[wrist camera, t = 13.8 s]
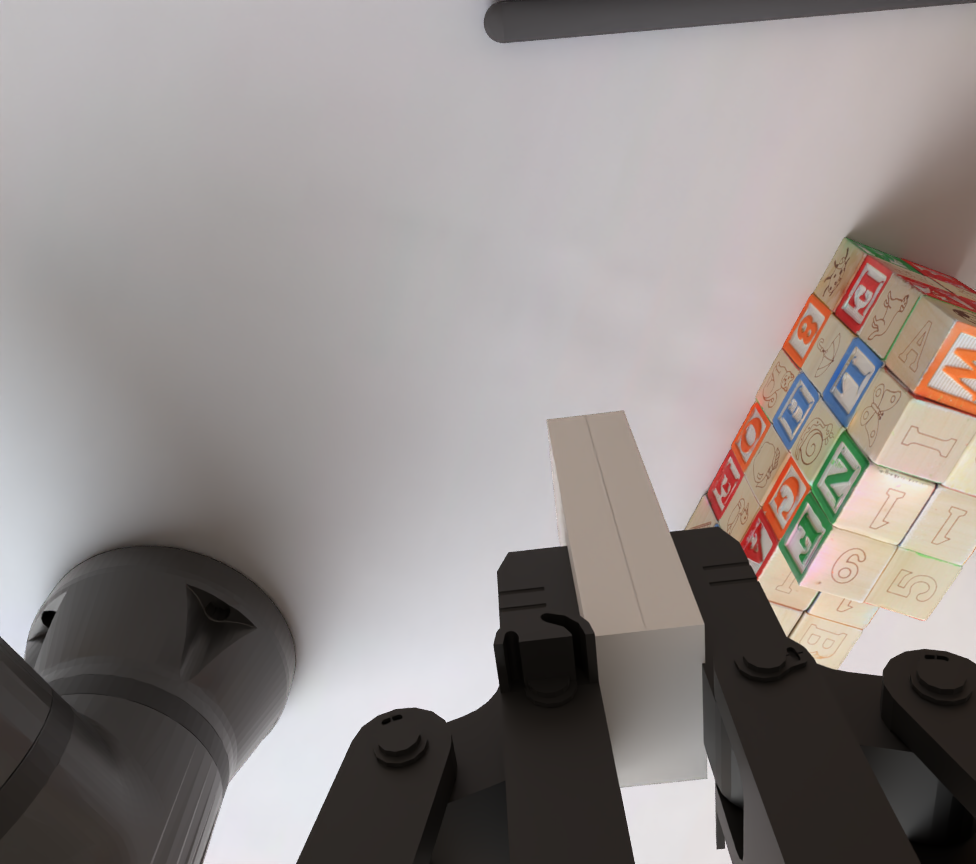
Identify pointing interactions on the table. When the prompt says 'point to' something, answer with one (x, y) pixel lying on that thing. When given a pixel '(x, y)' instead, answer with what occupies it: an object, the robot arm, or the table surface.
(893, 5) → the grey ledge with rod
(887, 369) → the stack of blocks
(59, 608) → the robot arm
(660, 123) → the table surface
